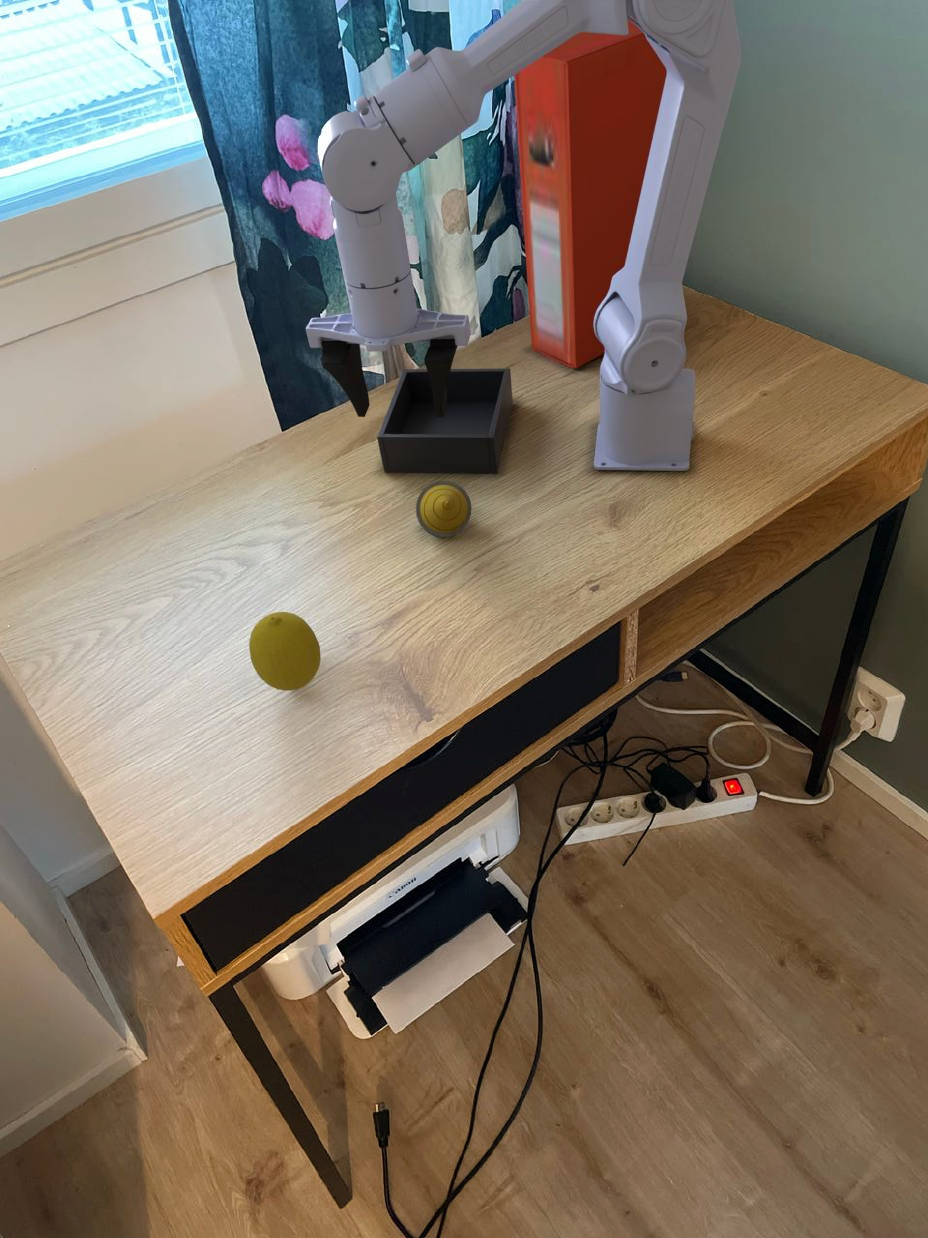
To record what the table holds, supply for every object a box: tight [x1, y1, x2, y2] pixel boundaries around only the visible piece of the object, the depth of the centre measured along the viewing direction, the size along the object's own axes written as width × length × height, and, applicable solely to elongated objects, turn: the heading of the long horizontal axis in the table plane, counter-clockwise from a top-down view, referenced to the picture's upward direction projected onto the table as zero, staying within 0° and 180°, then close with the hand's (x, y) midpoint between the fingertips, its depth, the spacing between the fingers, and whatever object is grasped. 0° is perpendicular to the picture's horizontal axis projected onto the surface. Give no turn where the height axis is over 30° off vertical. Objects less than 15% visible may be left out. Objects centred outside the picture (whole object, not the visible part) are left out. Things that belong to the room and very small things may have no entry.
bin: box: [376, 367, 514, 475], centre depth 97 cm, size 12×13×4 cm
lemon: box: [248, 611, 321, 692], centre depth 73 cm, size 6×6×8 cm
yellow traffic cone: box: [415, 480, 473, 538], centre depth 85 cm, size 5×5×10 cm
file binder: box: [513, 20, 667, 370], centre depth 100 cm, size 8×17×32 cm, turn 129°
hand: (402, 411), depth 86 cm, fingers open, 7 cm apart
